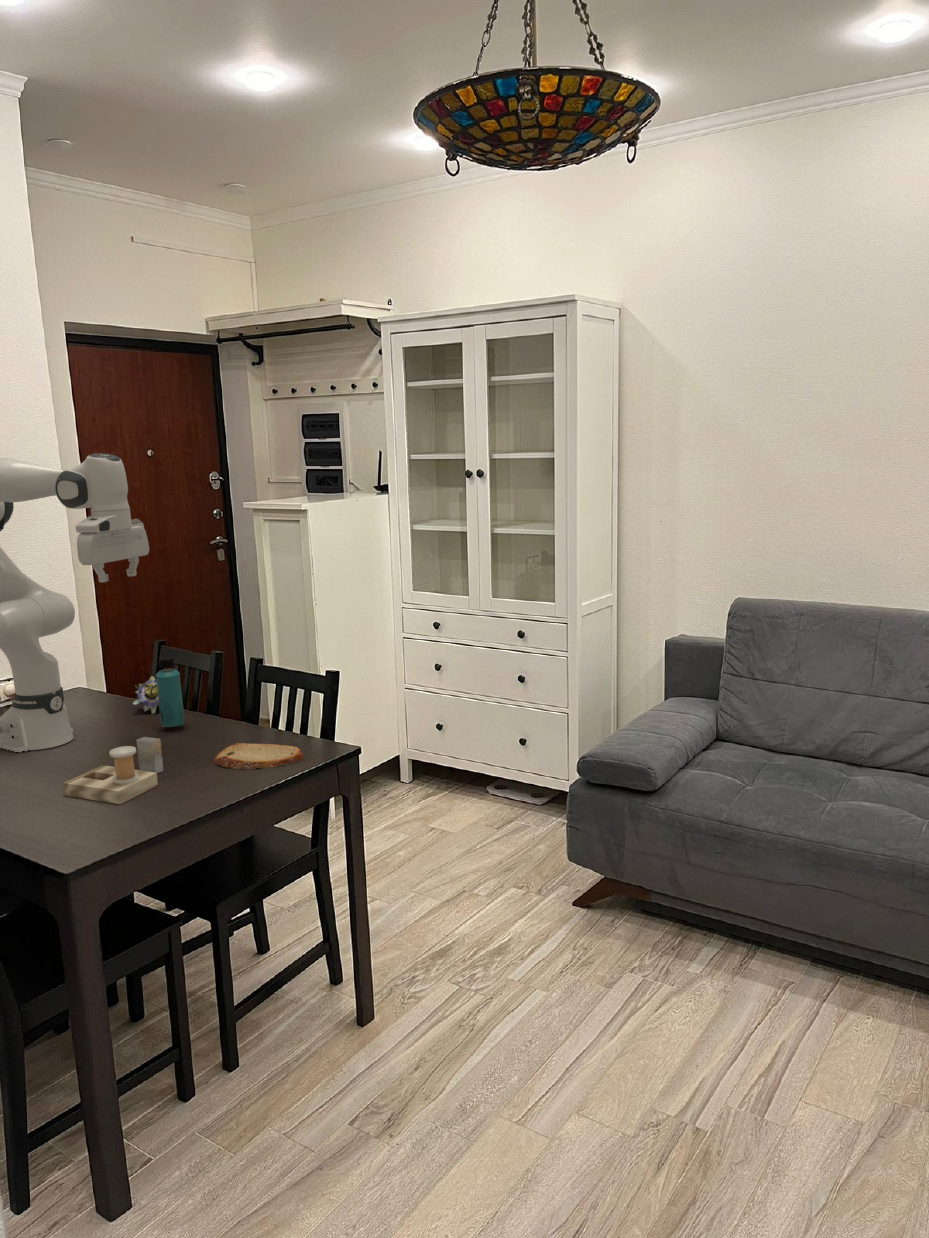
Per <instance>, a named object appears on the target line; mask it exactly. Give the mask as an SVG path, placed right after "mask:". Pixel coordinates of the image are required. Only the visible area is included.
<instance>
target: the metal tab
mask: <svg viewBox="0 0 929 1238" xmlns="http://www.w3.org/2000/svg"><path fill="white" fill-rule="evenodd" d="M161 741H162V740H161V738H156V737H148V736H142V737H140V738H137V739H136V747H137V748H136V751H137V758H138V766H139V767H138V770H140V771H148V772H155V773H157V775H158V774H159V773H162V772H164V763H163V762H164V761H163V755H162V754H163V752H162V742H161Z"/></svg>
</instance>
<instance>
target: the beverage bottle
mask: <svg viewBox="0 0 929 1238" xmlns="http://www.w3.org/2000/svg"><path fill="white" fill-rule="evenodd" d="M174 666H175V660H174V657H172V656H171V657H170V656H166V657H161V658H159V659H158V667H159V668H162V669H161V670H159V671H158V672H157V673H156V674H155V680H156V683H157V689H158V700H159V702H158V703H159V706H158V707H159V708H158V714H159V719H160V720H159V721H160V725H161V726H162V727H164V728H171V727H172V728H173V727H179V726H182V725H183V724H185V719H186V717H185V712H184V711H185V709H184V704H183V703H184V701H183V699H184V698H183V693H182V685H181V677H180V676H181V675H180V674H181V673H180V672H179V671H178V670H177V669H175V668H170V667H174Z"/></svg>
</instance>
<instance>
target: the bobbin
mask: <svg viewBox="0 0 929 1238" xmlns="http://www.w3.org/2000/svg"><path fill="white" fill-rule="evenodd" d="M136 753H137V748H136V747H135V746H132V745H127V746H125V745H124V746H118V747H115V748H112V749H110V750H109V757H110V758H113V762H114V767H115V772H116V775H115V776H114V777H113V778H112V780H113V783H114V784H119V785H122V784H129V783H133V782H135V781H137V780H138V779H139V774H138V773H135V771H134V770H135V763H134V755H135V754H136Z"/></svg>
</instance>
